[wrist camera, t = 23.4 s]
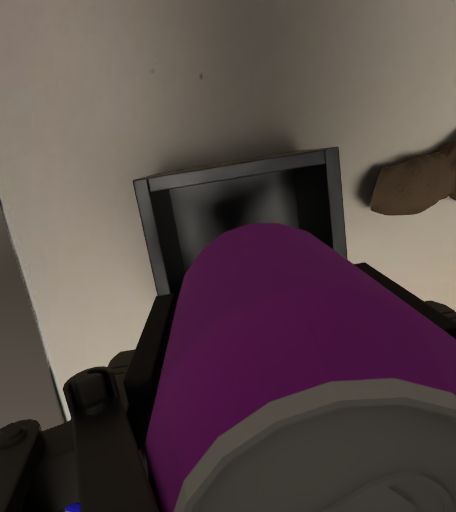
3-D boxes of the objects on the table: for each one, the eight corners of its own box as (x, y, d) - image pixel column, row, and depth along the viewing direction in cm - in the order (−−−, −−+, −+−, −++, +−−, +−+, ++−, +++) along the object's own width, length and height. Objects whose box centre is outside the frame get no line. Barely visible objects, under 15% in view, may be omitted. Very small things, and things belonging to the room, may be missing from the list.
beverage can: (228, 395, 19) (258, 767, 7) (148, 268, 17) (19, 496, 6) (366, 326, 18) (635, 612, 7) (299, 186, 17) (509, 250, 5)
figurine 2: (469, 124, 34) (346, 159, 34) (511, 116, 30) (370, 155, 29) (478, 193, 36) (360, 228, 35) (519, 194, 31) (385, 234, 31)
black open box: (156, 173, 34) (132, 180, 23) (298, 150, 34) (338, 146, 23) (183, 305, 37) (172, 365, 26) (312, 284, 37) (353, 335, 26)
